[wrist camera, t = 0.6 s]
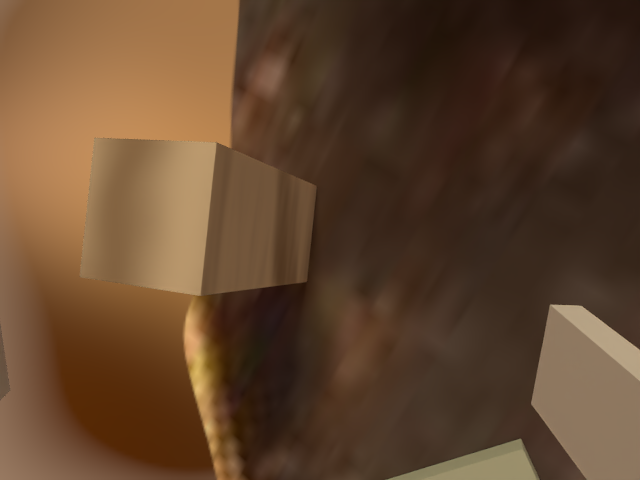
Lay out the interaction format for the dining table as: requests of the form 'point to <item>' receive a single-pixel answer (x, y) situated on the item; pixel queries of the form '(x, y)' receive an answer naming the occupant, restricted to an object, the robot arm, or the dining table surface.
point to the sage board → (482, 466)
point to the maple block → (194, 218)
